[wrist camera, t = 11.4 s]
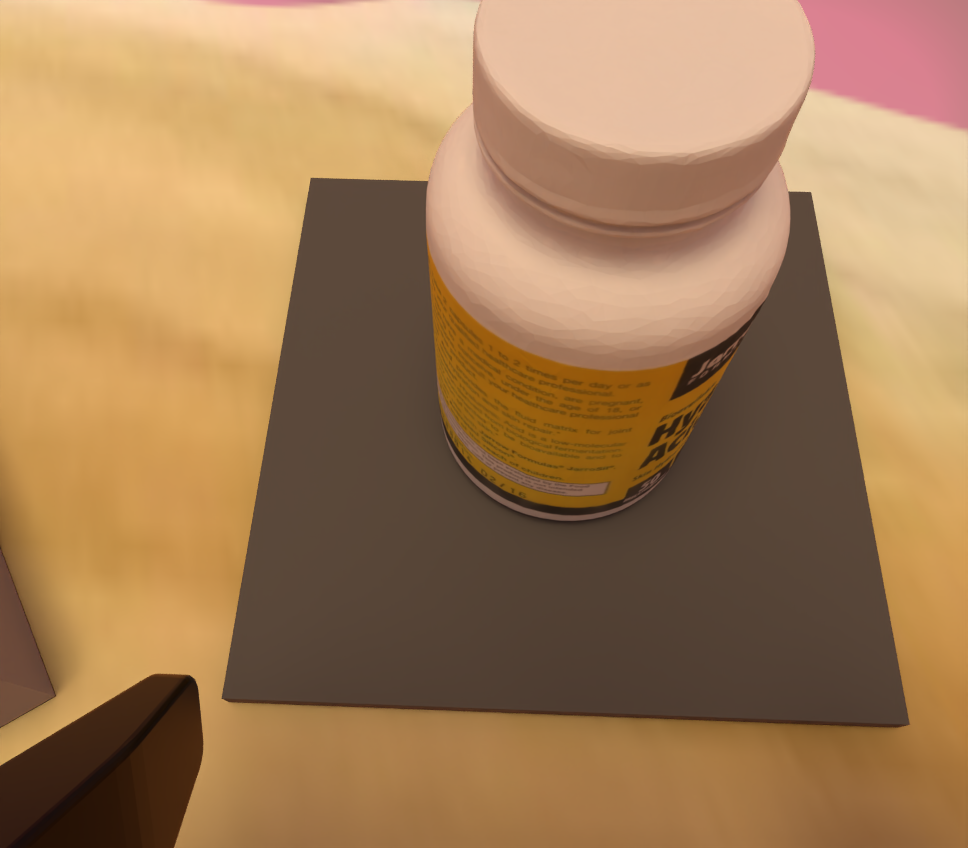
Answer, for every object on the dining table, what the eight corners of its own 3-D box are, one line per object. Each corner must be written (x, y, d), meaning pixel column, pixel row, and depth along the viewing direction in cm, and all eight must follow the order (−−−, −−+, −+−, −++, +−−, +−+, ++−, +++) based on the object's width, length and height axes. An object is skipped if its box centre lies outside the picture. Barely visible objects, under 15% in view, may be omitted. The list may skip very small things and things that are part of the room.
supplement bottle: (648, 565, 17) (835, 273, 8) (403, 478, 17) (324, 127, 9) (709, 352, 19) (909, -61, 10) (491, 285, 20) (498, -151, 11)
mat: (897, 727, 16) (909, 724, 15) (228, 702, 16) (221, 698, 15) (804, 205, 21) (810, 192, 21) (314, 191, 22) (310, 177, 21)
